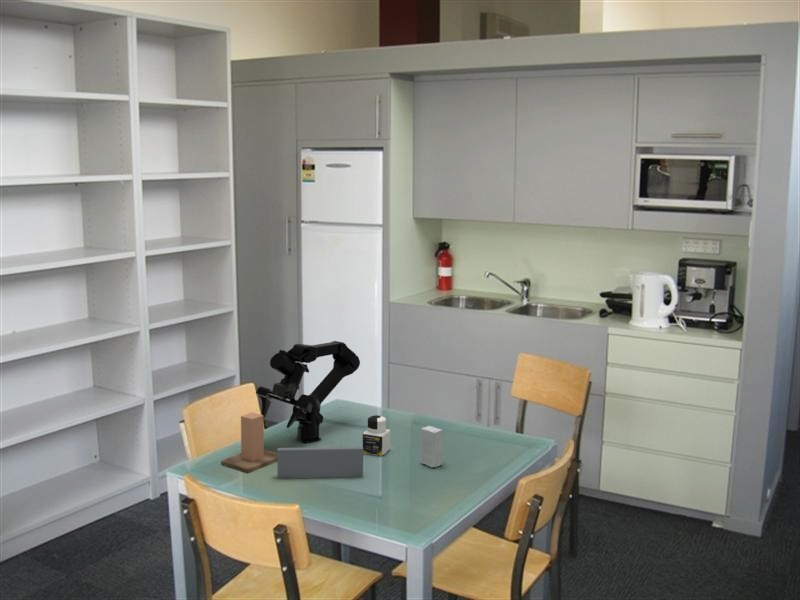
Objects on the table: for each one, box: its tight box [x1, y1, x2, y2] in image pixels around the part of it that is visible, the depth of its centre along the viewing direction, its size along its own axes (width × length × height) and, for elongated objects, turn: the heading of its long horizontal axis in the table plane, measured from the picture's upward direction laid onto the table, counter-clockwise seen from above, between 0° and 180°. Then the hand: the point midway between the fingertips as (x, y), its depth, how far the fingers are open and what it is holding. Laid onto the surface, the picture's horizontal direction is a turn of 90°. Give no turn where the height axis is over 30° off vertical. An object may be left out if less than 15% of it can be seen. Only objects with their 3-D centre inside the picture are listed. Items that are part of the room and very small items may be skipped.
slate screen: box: [276, 446, 364, 479], centre depth 261 cm, size 6×26×9 cm, turn 95°
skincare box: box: [419, 425, 444, 466], centre depth 270 cm, size 6×4×12 cm
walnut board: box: [220, 448, 277, 474], centre depth 271 cm, size 16×12×1 cm
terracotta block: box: [240, 411, 265, 462], centre depth 270 cm, size 5×5×14 cm
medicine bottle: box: [362, 414, 391, 457], centre depth 281 cm, size 7×7×12 cm
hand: (274, 423), depth 277 cm, fingers open, 9 cm apart
